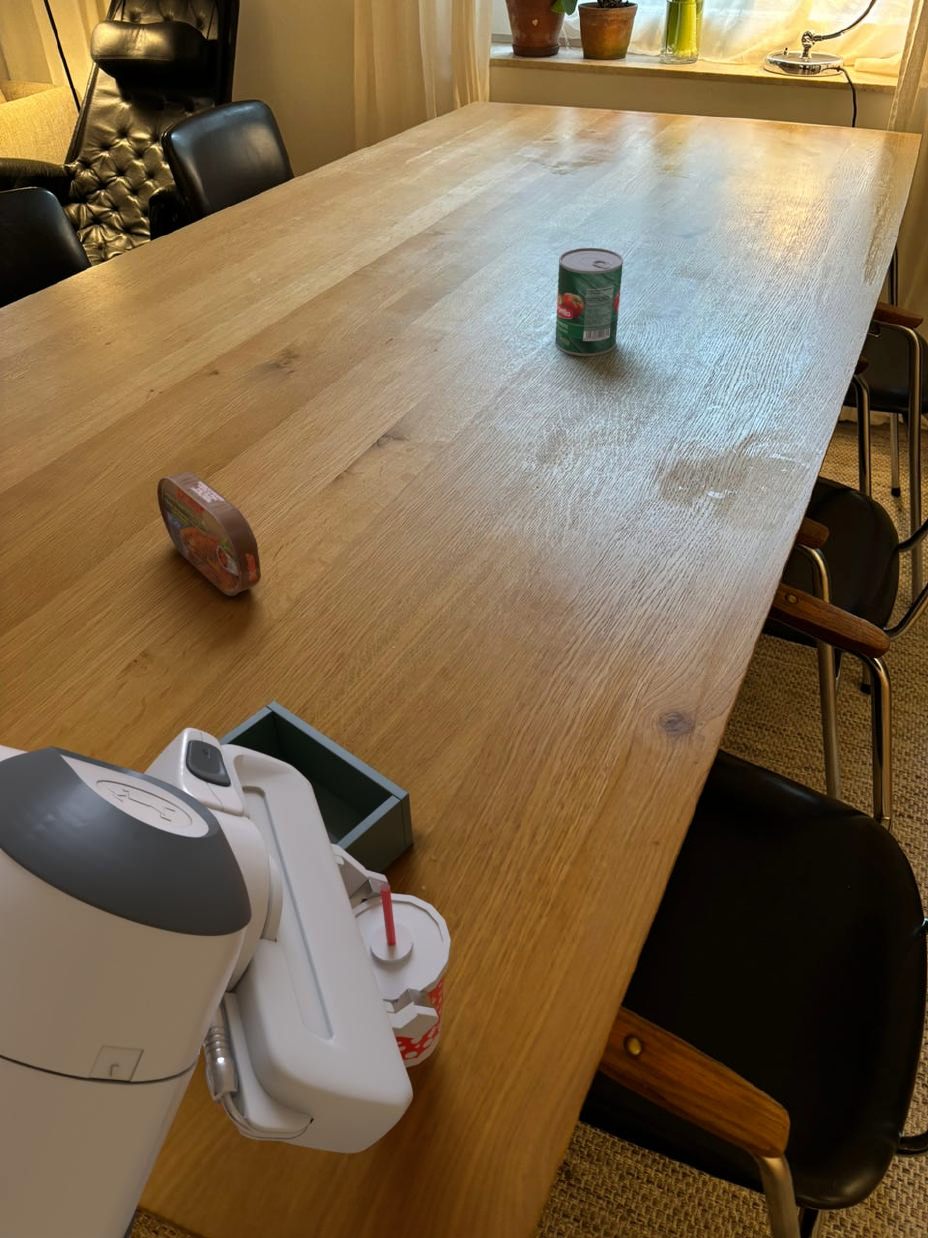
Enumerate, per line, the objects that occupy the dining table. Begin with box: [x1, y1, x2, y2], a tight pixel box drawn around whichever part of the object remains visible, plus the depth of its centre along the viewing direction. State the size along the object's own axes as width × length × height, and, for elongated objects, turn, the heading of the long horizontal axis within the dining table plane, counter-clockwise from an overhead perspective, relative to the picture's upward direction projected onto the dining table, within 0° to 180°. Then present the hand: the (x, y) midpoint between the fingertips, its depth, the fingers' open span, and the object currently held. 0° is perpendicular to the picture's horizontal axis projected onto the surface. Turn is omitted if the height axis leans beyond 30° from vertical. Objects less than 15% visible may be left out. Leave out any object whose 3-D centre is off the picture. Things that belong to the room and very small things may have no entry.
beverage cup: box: [353, 883, 452, 1069], centre depth 53 cm, size 6×6×14 cm
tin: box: [156, 471, 262, 597], centre depth 91 cm, size 15×3×8 cm, turn 40°
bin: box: [217, 700, 414, 874], centre depth 67 cm, size 14×14×5 cm
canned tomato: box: [554, 247, 624, 357], centre depth 125 cm, size 8×8×11 cm
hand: (403, 952), depth 52 cm, fingers closed on beverage cup, 6 cm apart
